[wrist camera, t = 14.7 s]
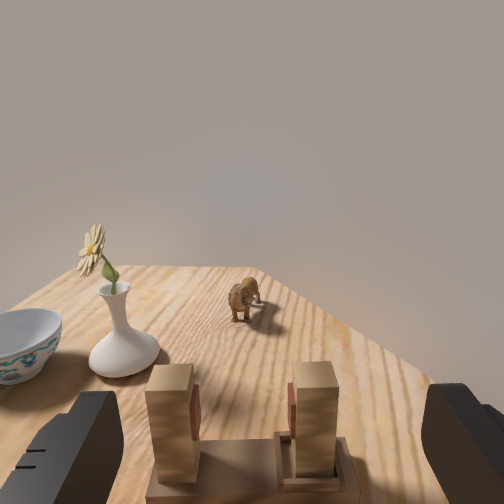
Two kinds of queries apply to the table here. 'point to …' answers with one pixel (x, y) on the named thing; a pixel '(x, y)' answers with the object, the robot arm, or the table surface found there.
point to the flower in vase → (115, 319)
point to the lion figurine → (243, 298)
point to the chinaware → (27, 342)
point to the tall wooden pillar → (313, 418)
